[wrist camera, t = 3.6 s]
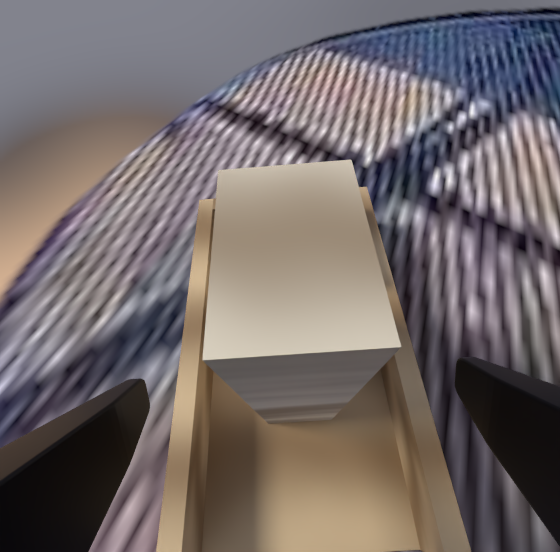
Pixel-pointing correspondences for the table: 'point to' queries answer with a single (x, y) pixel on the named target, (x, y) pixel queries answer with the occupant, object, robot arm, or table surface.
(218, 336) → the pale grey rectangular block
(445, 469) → the tray
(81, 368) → the table surface
